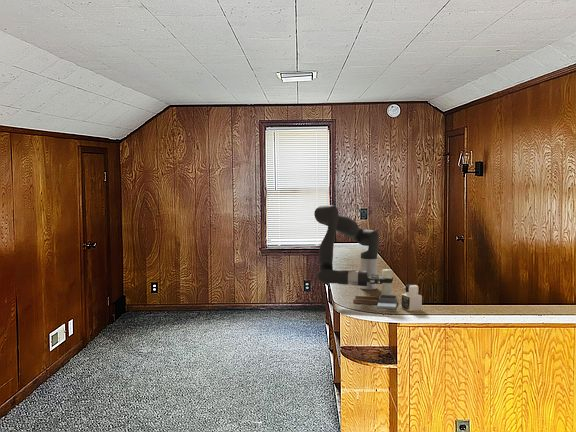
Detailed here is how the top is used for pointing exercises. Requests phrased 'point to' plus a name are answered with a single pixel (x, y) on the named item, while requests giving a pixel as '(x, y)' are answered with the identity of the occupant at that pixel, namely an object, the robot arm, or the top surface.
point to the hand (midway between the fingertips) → (392, 279)
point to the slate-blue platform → (387, 305)
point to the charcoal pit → (388, 299)
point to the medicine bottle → (411, 298)
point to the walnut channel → (366, 299)
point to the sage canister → (387, 286)
